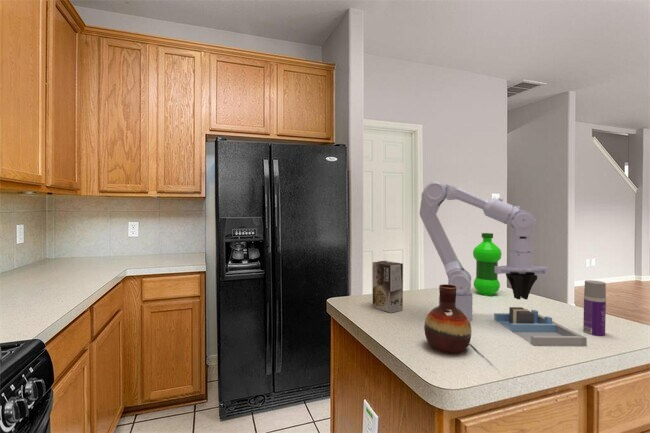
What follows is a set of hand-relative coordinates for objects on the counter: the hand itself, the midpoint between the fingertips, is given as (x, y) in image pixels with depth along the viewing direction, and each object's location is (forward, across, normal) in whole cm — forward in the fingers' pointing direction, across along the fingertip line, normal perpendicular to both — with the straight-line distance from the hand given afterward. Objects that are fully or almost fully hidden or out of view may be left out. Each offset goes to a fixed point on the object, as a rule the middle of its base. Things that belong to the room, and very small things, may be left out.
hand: (520, 298), depth 97 cm
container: (+9, +17, -5) cm, 20 cm away
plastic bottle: (+9, +10, +42) cm, 44 cm away
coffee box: (+9, -35, +20) cm, 41 cm away
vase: (+9, -26, -13) cm, 31 cm away
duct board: (+9, +2, -5) cm, 10 cm away
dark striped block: (+8, 0, 0) cm, 8 cm away
